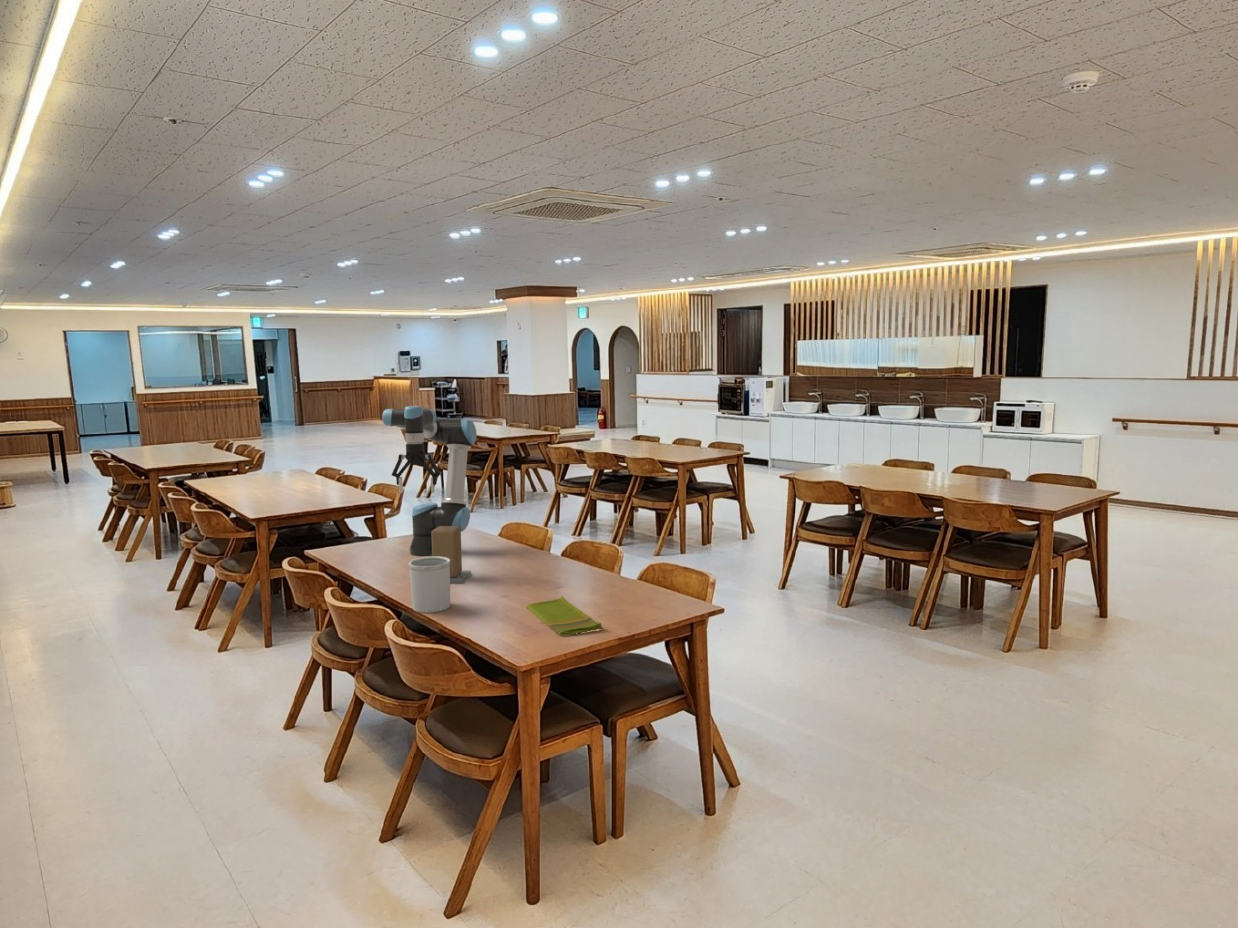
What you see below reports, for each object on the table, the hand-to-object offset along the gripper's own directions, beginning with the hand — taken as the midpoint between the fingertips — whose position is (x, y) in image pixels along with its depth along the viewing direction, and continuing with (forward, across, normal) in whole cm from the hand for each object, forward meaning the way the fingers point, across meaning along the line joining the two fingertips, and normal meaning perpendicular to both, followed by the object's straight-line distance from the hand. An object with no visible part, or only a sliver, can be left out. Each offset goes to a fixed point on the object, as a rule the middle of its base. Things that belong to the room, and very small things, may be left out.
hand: (417, 492), depth 335 cm
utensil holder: (+34, +17, -50) cm, 63 cm away
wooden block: (+34, +14, -10) cm, 38 cm away
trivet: (+35, +14, -10) cm, 39 cm away
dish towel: (+35, +66, -62) cm, 97 cm away
